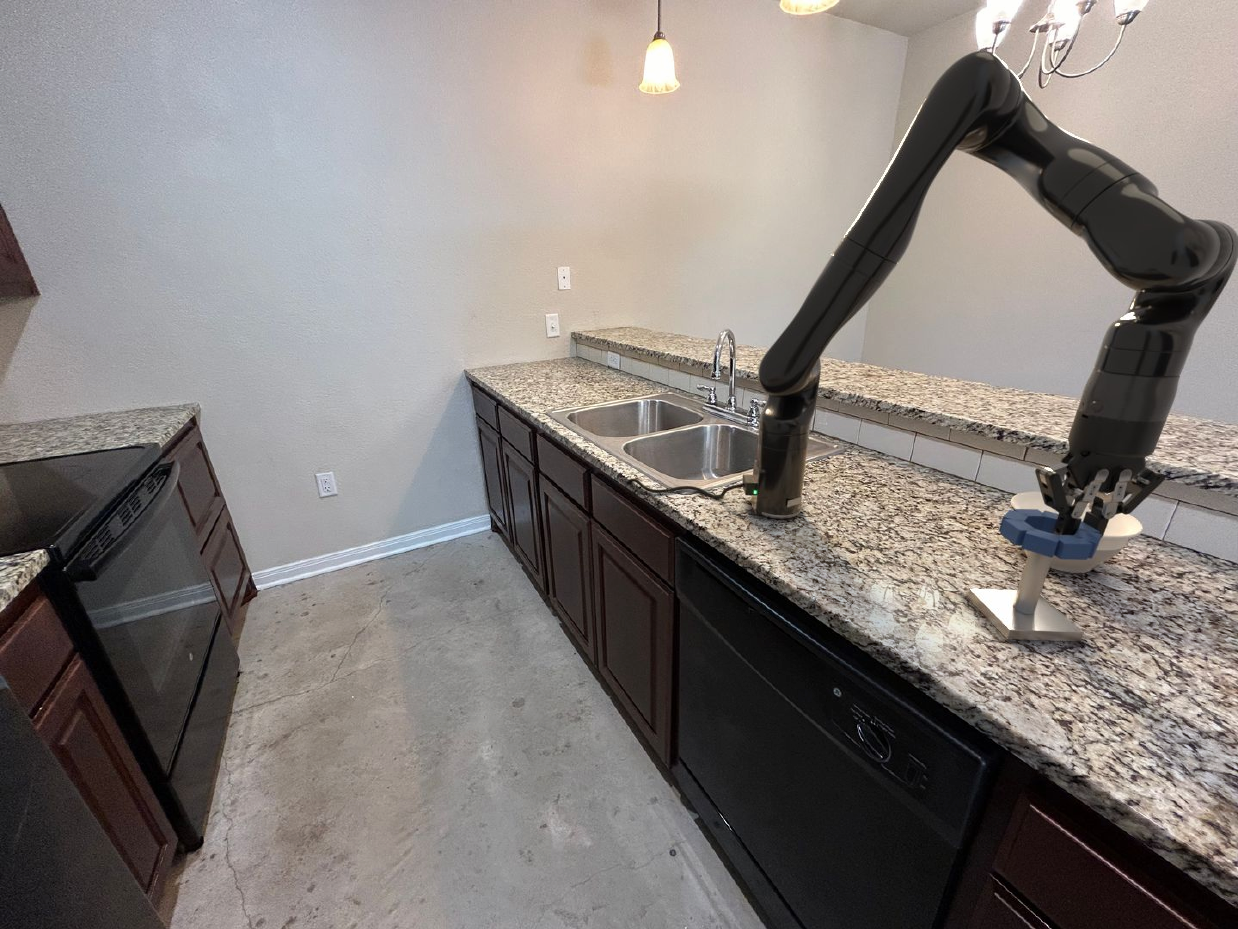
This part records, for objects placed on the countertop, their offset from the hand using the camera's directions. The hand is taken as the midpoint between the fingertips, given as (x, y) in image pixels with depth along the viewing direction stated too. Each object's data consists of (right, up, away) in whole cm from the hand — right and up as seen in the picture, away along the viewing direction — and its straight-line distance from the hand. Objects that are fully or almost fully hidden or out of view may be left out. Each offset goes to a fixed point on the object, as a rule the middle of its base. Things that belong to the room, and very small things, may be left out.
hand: (1075, 540), depth 64 cm
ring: (-4, 0, 0) cm, 4 cm away
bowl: (+14, -6, +18) cm, 24 cm away
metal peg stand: (-3, -11, +5) cm, 13 cm away
